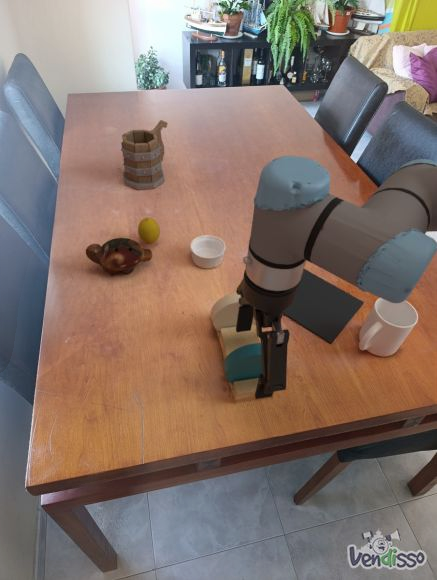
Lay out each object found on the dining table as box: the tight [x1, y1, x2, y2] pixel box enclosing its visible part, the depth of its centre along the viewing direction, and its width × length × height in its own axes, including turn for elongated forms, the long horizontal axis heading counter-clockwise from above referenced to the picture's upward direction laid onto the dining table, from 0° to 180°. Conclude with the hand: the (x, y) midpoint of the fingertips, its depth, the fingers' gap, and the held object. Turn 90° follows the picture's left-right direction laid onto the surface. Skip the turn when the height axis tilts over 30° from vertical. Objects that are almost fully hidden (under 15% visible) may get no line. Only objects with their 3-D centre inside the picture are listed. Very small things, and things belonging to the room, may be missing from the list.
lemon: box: [137, 217, 161, 245], centre depth 96 cm, size 6×6×8 cm
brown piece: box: [85, 237, 153, 277], centre depth 89 cm, size 10×15×8 cm, turn 111°
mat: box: [282, 268, 365, 345], centre depth 88 cm, size 20×16×1 cm
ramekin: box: [189, 234, 227, 269], centre depth 94 cm, size 9×9×4 cm
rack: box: [215, 324, 275, 405], centre depth 74 cm, size 20×7×5 cm, turn 11°
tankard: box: [120, 119, 168, 191], centre depth 117 cm, size 20×13×15 cm, turn 148°
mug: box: [358, 297, 419, 357], centre depth 76 cm, size 12×8×10 cm
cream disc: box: [210, 292, 256, 331], centre depth 74 cm, size 2×10×10 cm, turn 101°
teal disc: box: [222, 342, 263, 384], centre depth 66 cm, size 2×10×10 cm, turn 101°
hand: (252, 360), depth 65 cm, fingers open, 13 cm apart
